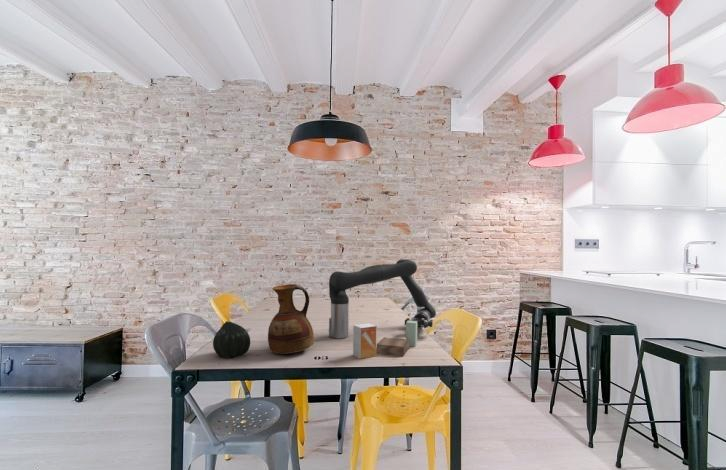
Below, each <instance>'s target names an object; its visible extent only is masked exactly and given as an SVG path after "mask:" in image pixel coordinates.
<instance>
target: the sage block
mask: <svg viewBox="0 0 726 470" xmlns="http://www.w3.org/2000/svg"><path fill="white" fill-rule="evenodd" d="M405 339H407V340H409V347H414V348H416V346H417V345H418V327H417V321H409V320H408V321H407V322H406V325H405Z"/></svg>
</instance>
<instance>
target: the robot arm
mask: <svg viewBox="0 0 726 470" xmlns="http://www.w3.org/2000/svg"><path fill="white" fill-rule="evenodd" d="M417 268H418V265H417V263H416V262H415V261H414V260H411V259H406V258H405V259H404V258H403V259H398V260H397V261H396V263H391V264H389V263H388V264H386V263H385V264H384V263H383V264H376V265H371V266H367V267H365V268H362V269H360V270H359V271H353V272H352V271H351V272H343V271H339V270H338V271H334V272H332V273H331V274H330V275H329V280H328V291H329V294H328V295H329V298H330V317H329V318H328V319H329V320H328V338H333V339H346V338H349V333H350V332H349V329H350V328H349V326H350V325H349V320H350V319H349V317H350V316H349V315H350V313H349V312H350V308H349V302H350V300H349V297H348V295H347V293H346V290H350V289H353V288H355V287H358V286H362V285H363V286H364V285H371V284H376V283H381V282H385V281H387V280H392V279H395V278H399V277H400V279H401V280H402V281H403V284H405V286H406V287H407V290H408V291H409V293H410V295H411V297H412V299H413V302H414V304H415V306H416V307H419V308H420V309H418V310H417V312H416V314H415V315H414V317H413V318H409V317H407V318H406V319H405V320H404V326H406V322H407V321H408V320H409V321H417V328H420V329H421V328H424V329H427V328H428V327H429V328H432V327H433V325H434V320H433V318H435V317H436V315H437V313H436V311H437V310H436V309H435V308H434V306H433V305H432V304H431V303H430V302H429V301H428V300H427V297H426V295H425V293H424V292H425V291H423V289H422V288H421V286H420V285H419V284H418V283H417V282H416V280H415V279H414V278H413V276H414V274H415V273H416V271H417Z"/></svg>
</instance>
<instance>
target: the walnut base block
mask: <svg viewBox="0 0 726 470" xmlns="http://www.w3.org/2000/svg"><path fill="white" fill-rule="evenodd" d="M409 349H410V346H409V340H407V339H406V338H397V337H396V338H395V337H382V339H380V340H379V341H378V342H376V354H380V355H381V354H382V355H392V356H399V357H404V356H405V355H406V353H407V352H408V350H409Z"/></svg>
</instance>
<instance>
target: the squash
mask: <svg viewBox="0 0 726 470" xmlns="http://www.w3.org/2000/svg"><path fill="white" fill-rule="evenodd" d="M212 347H213V351H214V352H215V354H216V355H217V356H218V357H221V358H225V359H229V358H231V357H232V356H233V357H235V356H238V355H239V356H242V355H244V354H246V353H247V352H248V351H249V350H250V347H251V337H250V334H249V332H248V331H247V330H246V329H245V328H244V327H243V326H241V325H239V324H237V323H235V322H232V321H228V320H227V321H225V322H224V323H223V324H222V325H221V327H220V328H219V330H217V332H216V333H215V335H214V337H213V340H212Z"/></svg>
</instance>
